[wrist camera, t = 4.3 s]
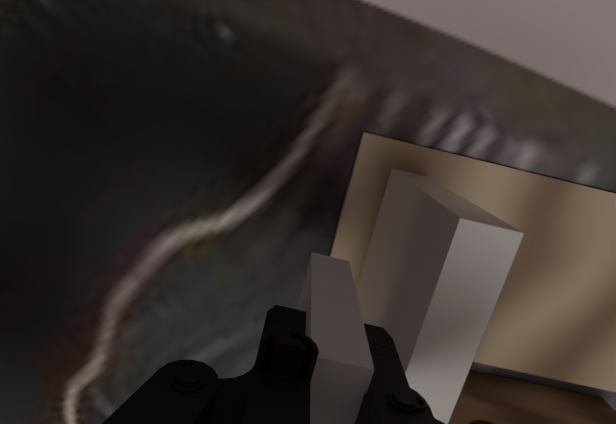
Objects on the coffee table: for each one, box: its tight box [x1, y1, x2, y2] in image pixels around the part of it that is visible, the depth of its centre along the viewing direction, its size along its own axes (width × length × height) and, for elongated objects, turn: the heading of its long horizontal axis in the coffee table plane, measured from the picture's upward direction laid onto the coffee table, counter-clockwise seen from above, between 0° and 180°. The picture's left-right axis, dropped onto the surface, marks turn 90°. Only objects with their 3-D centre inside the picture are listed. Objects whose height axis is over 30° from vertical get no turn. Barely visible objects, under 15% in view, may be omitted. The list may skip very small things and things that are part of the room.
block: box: [356, 168, 524, 424], centre depth 17 cm, size 2×9×10 cm, turn 167°
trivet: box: [329, 132, 616, 392], centre depth 23 cm, size 20×12×1 cm, turn 77°
